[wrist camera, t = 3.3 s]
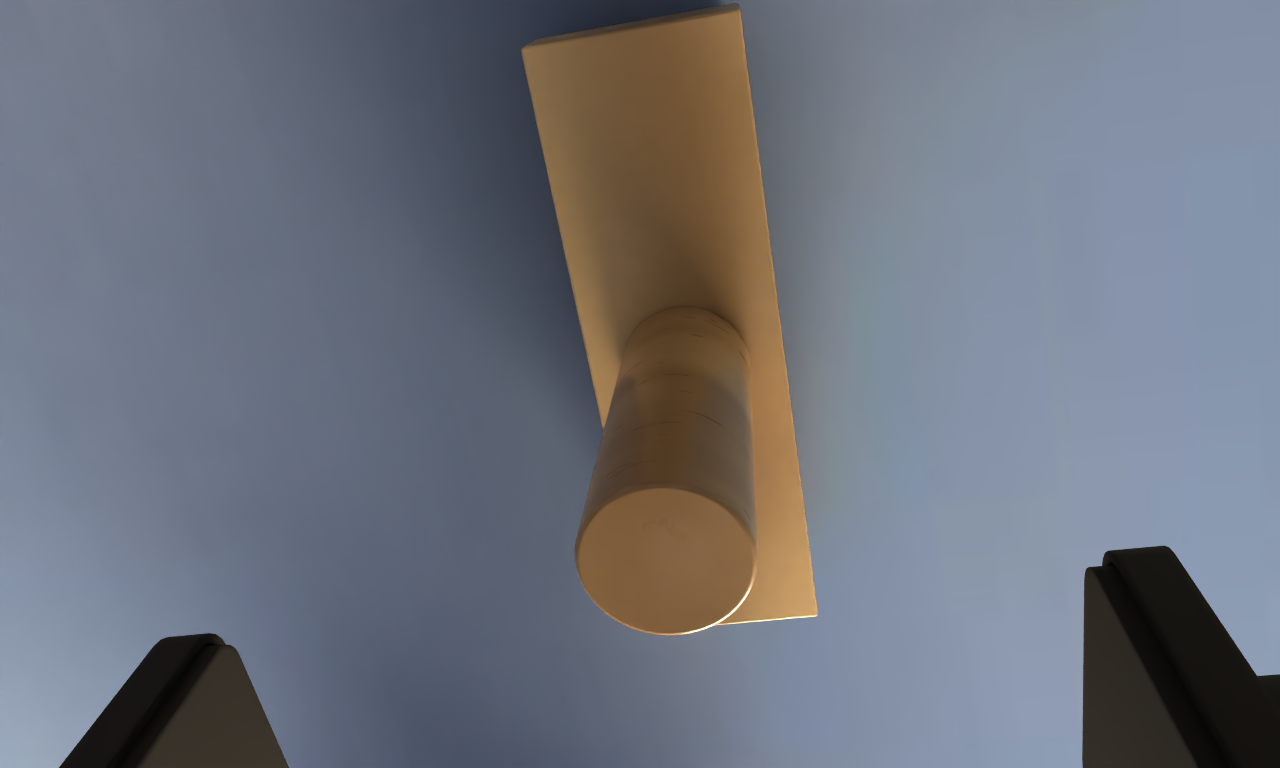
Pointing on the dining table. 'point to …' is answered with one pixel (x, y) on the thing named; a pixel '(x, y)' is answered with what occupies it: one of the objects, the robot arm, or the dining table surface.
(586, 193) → the brush
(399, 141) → the dining table surface
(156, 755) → the robot arm
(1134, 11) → the dining table surface
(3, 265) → the dining table surface
